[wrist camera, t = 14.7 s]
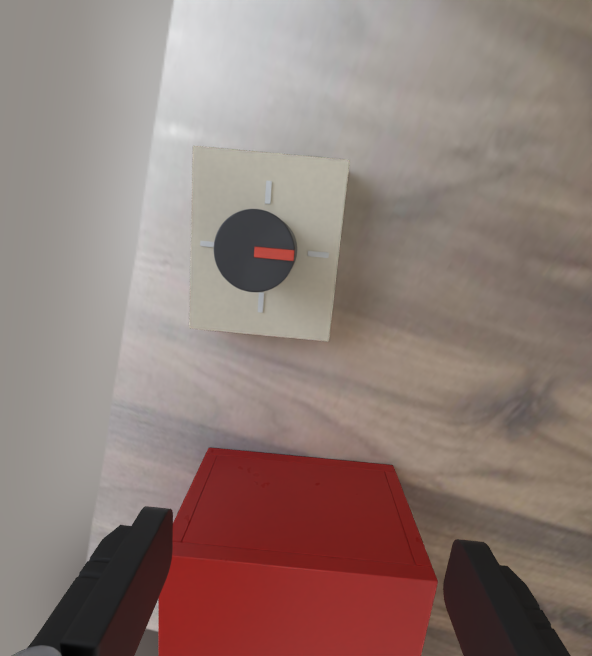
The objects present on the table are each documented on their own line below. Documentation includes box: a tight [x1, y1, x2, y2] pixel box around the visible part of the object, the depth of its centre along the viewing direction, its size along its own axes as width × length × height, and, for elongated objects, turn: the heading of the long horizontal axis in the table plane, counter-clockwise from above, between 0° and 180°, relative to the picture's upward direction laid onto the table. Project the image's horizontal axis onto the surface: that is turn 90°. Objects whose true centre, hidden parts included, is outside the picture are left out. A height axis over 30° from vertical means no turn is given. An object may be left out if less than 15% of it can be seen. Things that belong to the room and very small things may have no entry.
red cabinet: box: [159, 448, 438, 656], centre depth 27 cm, size 11×16×11 cm
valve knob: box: [214, 209, 297, 292], centre depth 22 cm, size 4×4×5 cm
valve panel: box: [189, 146, 350, 342], centre depth 26 cm, size 10×12×3 cm
